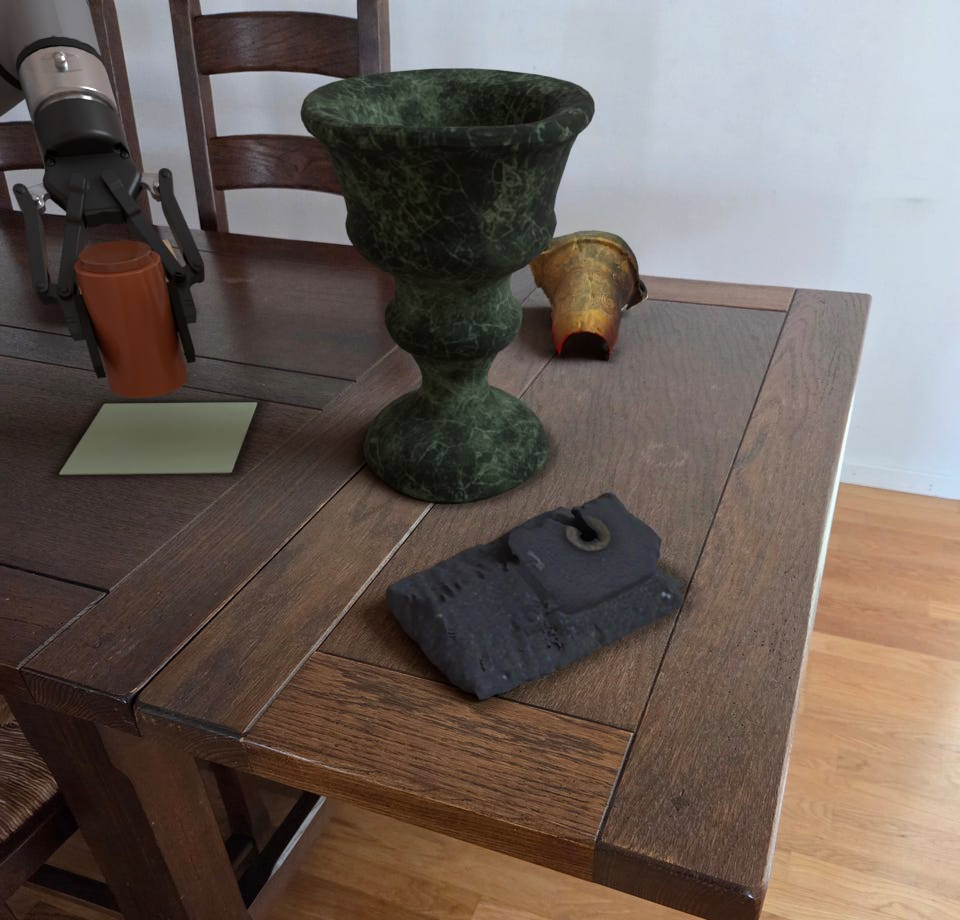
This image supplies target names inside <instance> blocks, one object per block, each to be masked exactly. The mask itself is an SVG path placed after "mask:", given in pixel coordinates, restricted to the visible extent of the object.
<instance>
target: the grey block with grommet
mask: <svg viewBox="0 0 960 920" xmlns="http://www.w3.org/2000/svg"><path fill="white" fill-rule="evenodd" d="M662 541H663V540H662V538H661V536H659V535H658V534H657V532H656V531H655V530H654V529H653V528H652V527H651V526H650V525H649V524H647V523H646V522H644V521H643V520H642V519H640V518H638V517H637V516H636V515H635V514H633V513H631V512H630V511H629V510H628V509H627V507H625V504H624V502H623V501H621V500H620V498H619V497H617V495H616V493H614V492H613V493H612V492H604V493H602V494H600V495H599V496H598V497H595V498H593V499H590V500H588V501H586V502H583V504H582V505H575V506H573V507H572V508H571V509H570V508H567V507H564V506H558V507H556V508H554V509H552V510H547V511H545V512H542V513H540V514H538V515H535V516H533V517H531V518H529V519H528V520H526V521H524V522H523V523H521V524H518V525H517V526H515V527H513V528H511V529H510V530H508V531H506V532H505V533H503V534H502V535H500V536H499V537H497V538H496V539H494V540H492V541H490V542H487V543H486V544H482V543H476V544H475V545H474V546H471V547H467V548H464V549H463V550H462V551H461V550H460V552H458V553H456V554H455V555H452V556H451V557H448V558H445V559H442V560H440V561H439V562H437V563H436V564H434V565H433V566H431V567H430V568H427V569H425V570H422V571H417V572H414V573H412V574H409V575H407V576H405V577H403V578H401V579H399V580H397V581H396V582H393V583H391V584H389V585H388V586H387V588H386V590H385V601H386V607H387V609H388V610H389V611H390V612H391V614H392V615H394V617H395V618H396V620H397V621H398V622H399V623H400V625H401V627H402V629H403V632H404V633H406V634H407V636H408V637H409V638H411V639H412V640H413V641H414V642H415V644H418V646H419V647H420V649H421V650H422V652H423V653H424V655H425V657H426V658H427V661H428V662H430V663H431V664H432V665H434V666H435V667H437V669H438V670H439V671H440V672H441V673H442V674H443V675H445V676H446V678H447V679H448V680H449V681H450V682H451V684H452V685H453V686H456V687H458V688H459V689H460V690H462V691H464V692H466V693H470V694H473V695H476V696H477V697H478V700H485V699H490V698H492V697H494V696H497V695H502V694H505V693H507V692H509V691H511V690H514V689H516V688H520V687H522V685H523V684H524V683H527V682H535V681H537V680H538V679H539V678H540V677H542V676H547V675H550V674H551V673H554V671H556V670H560V669H562V668H565V667H566V666H568V665H570V664H572V663H575V662H577V661H579V660H581V659H583V658H585V657H587V656H590V655H591V654H593V653H594V652H596V651H598V650H599V649H602V648H604V647H607V646H609V645H610V644H612V643H614V642H617V641H619V640H621V639H624V638H625V637H627V636H629V635H631V634H633V633H635V632H637V631H639V630H640V629H641V628H643V627H646V626H648V625H651V624H653V623H655V622H656V621H657V620H659V619H661V618H662V619H663V617H666V616H668V615H670V614H672V613H673V612H675V611H676V610H679V609H680V608H681V607H682V606H683V604H684V602H685V597H684V596H683V595H682V594H681V593H680V591H681V590H682V589H683V588H684V584H682V583H681V581H680V580H678V579H676V578H674V577H672V576H671V575H669V574H666V573H665V572H663V571H662V570H661V569H659V568H658V567H657V565H656V564H657V560H658V559H659V558H660V556H661V546H662Z"/></svg>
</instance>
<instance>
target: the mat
mask: <svg viewBox="0 0 960 920" xmlns="http://www.w3.org/2000/svg"><path fill="white" fill-rule="evenodd" d="M257 405H258V402H256V401H253V402H252V401H251V402H250V401H247V402H246V401H244V402H242V401H241V402H240V401H239V402H233V401H232V402H154V403H153V402H147V403H146V402H145V403H144V402H143V403H142V402H141V403H139V402H138V403H137V402H136V403H134V402H133V403H132V402H131V403H129V402H128V403H103V405H102V406H101V408H100V409H99V411H98V412H97V414H96V416H95V417H94V418H93V420H92V422H91V424H89V427H87V429H86V432H85V433H84V435H82V436H81V439H80V440H79V442H78V443H77V445H76V446H75V448H74V450H73V451H72V453H71V454H70V456H69V457H68V459H67V461H66V462H65V463H64V465H63V466H62V468H61V470H60V472H58V475H59V476H84V475H85V476H86V475H89V476H91V475H93V476H95V475H97V476H98V475H99V476H101V475H167V474H168V475H178V474H179V475H182V474H184V475H185V474H186V475H187V474H188V475H189V474H193V475H195V474H232V473H233V470H234V467H235V465H236V462H237V459H238V456H239V454H240V451H241V448H242V446H243V443H244V440H245V439H246V435H247V433H248V430H249V426H250V424H251V422H252V419H253V416H254V413H255V411H256V408H257Z"/></svg>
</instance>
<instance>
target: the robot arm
mask: <svg viewBox="0 0 960 920" xmlns="http://www.w3.org/2000/svg"><path fill="white" fill-rule="evenodd" d="M99 46H100V45H99V43H98V39H97V34H96V30H95V26H94V22H93V18H92V14H91V9H90V2H89V0H0V118H1V117H2V116H4V115H6V113H8V112H9V111H11V110H12V109H14V108H16V106H18V105H19V104H21V103H22V102H23V101H25V104H26V107H27V112H28V114H29V118H30V121H31V124H32V126H33V132H34V136H35V139H36V143H37V147H38V150H39V153H40V157H41V159H42V164H43V168H44V174H43V177H42V182H40V183H37V184H34V185H32V186H28V187H27V186H26V185H25V184H24V183H20V182H19V183H15V184H14V185H12V189H11V190H12V193H13V196H14V198H15V200H16V203H17V205H18V208H19V210H20V212H21V214H22V216H23V221H24V229H25V237H26V245H27V251H28V253H27V254H28V259H29V267H30V275H31V283H32V288H33V290H34V292H35V295H36V296H37V297H36V298H37V299H38V301H39V303H40V304H42V305H44V306H50V305H56V306H59V307H60V308H61V309H62V312H63V316H64V319H65V322H66V326H67V330H68V332H69V335H70V337H71V338H72V339H73V341H74V342H80V341H85V343H86V346H87V347H86V348H87V350H88V354H89V357H90V360H91V363H92V368H93V370H94V373H95V375H96V378H97V379H104V378H107V376H106V372H105V369H104V366H103V363H102V359H101V356H100V353H99V349H98V346H97V342H96V339H95V336H94V332H93V329H92V326H91V323H90V319H89V316H88V313H87V309H86V306H85V303H84V299H83V296H82V294H80V293H79V283H78V280H77V277H76V273H75V270H74V265H75V263H76V262H77V261H78V260H79V258H78V256H79V253H80V252H81V251H83V250H84V249H85V245H86V244H85V243H86V240H87V238H88V231H89V229H91V228H98V227H100V226H103V225H105V224H106V225H121V224H124V226H125V227H126V229H127V230H128V231H129V233H131V234H132V235H133V236H134V237H135V238H136V240H137V241H138V242H143V243H146V244H148V245H149V246H150V247H151V250H152V251H155V252H156V253H158V254H159V255H160V257H161V261H162V266H163V270H164V274H165V277H166V278H167V280H168V281H169V282H167V287H168V291H169V295H170V299H171V303H172V308H173V312H174V316H175V320H176V324H177V329H178V333H179V337H180V341H181V346H182V350H183V354H184V358H185V361H186V364H192V363H197V362H196V360H197V359H196V349H195V346H194V344H193V340H192V336H191V333H190V329H189V324H195V323H197V318H198V317H197V308H196V305H195V302H194V298H193V294H192V291H191V287H192V286H194V285H195V284H201V283H203V282H204V281H205V280H206V275H205V273H206V272H205V262H204V259H203V258H202V256H201V252H200V251H199V249H198V246H197V244H196V242H195V239H194V237H193V233H192V232H191V229H190V228H189V226H188V223H187V221H186V219H185V216H184V214H183V212H182V210H181V207H180V204H179V203H178V200H177V197H176V195H175V188H174V177H173V172H172V170H170V169H169V168H167V167H162V168H160V169H159V170H158V173H156V172H155V173H153V172H143V171H142V169H140V167H139V166H138V165H137V164H136V163H135V162H134V160H133V157H132V155H131V152H130V146H129V144H128V140H127V137H126V133H125V130H124V127H123V123H122V119H121V118H120V116H119V110H118V105H117V103H116V99H115V96H114V93H113V89H112V85H111V82H110V78H109V75H108V73H107V69H106V65H105V61H104V60H103V57H102V54H101V50H100V47H99ZM144 189H145V190H147V191H148V192H149V194H150V196H151V198H152V199H153V200H154V201H156V202H157V203H160V205H161V210H162V212H163V215H164V216H163V217H164V218H165V220H166V223H167V225H168V228H169V229H170V232H171V234H172V236H173V239H174V241H175V243H176V246H177V248H178V250H179V252H180V255H181V256H182V260H183V262H184V264H185V265H184V266H182V265H181V263H180V262H179V260H178V259H177V260H178V261H177V260H176V258H177V257H176V258H175V257H174V256H173V254H172V253H171V251H170V250H169V249H168V247H167V246H166V245H165V243H164V242H163V241H162V240H163V239H162V238H161V236H160V235H159V234H158V233H157V231H156V229H155V228H154V227H153V225H152V224H151V223H150V221H148V219H147V218H146V217H145V215H144V214H143V212H142V210H141V208H140V206H139V205H138V200H139V198H140V196H141V194H142V192H143V190H144ZM48 200H50V201H52V202H53V204H55V205H57V206H58V207H59V208H60V209H61V210H62V211H64V212H65V229H64V235H63V242H62V249H61V256H60V263H59V270H58V271H59V272H58V277H57V284H56V283H52V277H51V271H50V264H49V263H50V262H49V256H48V249H47V241H46V233H45V227H44V223H43V220H42V218H41V216H44V214H45V212H46V210H47V206H46V202H47V201H48Z"/></svg>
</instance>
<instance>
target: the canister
mask: <svg viewBox="0 0 960 920" xmlns="http://www.w3.org/2000/svg"><path fill="white" fill-rule="evenodd" d="M78 258H79V260H78V261H77V262H76V263H75V265H74V270H75V273H76V277H77V280H78V283H79V287H80V290H81V293H82V296H83V299H84V303H85V306H86V309H87V313H88V316H89V319H90V323H91V326H92V329H93V332H94V336H95V339H96V342H97V346H98V349H99V353H100V356H101V360H102V364H103V367H104V371H105V374H106V379H107V381H108V385H109V388H110V391H112V392H113V393H114V394H116V396H117V395H118V396H120V397H124V398H129V399H147V398H154V397H155V398H156V397H159V396H163V395H164V396H165V395H167V394H169V393H172V392H175V391H177V390H178V389H179V390H180V388H182V387H183V386H184V385H185V384H186V383H187V382H188V380H189V371H188V367H187V361H186V357H185V353H184V350H183V346H182V343H181V339H180V336H179V332H178V329H177V324H176V320H175V316H174V312H173V308H172V303H171V299H170V295H169V291H168V287H167V282H166V278H165V274H164V270H163V266H162V261H161V257H160V255H159V254H158V253H156V252H155V251H152V250H151V247H150V246H149V245H148V244H146V243H143V242H139V241H138V240H112V241H105V242H101V243H100V242H99V243H97V244H93V245H91V246H88V247H86V248H84V250H83V251H81V252H80V253H79V256H78Z"/></svg>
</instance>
